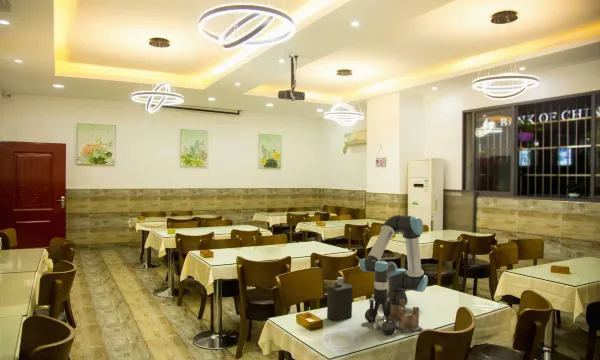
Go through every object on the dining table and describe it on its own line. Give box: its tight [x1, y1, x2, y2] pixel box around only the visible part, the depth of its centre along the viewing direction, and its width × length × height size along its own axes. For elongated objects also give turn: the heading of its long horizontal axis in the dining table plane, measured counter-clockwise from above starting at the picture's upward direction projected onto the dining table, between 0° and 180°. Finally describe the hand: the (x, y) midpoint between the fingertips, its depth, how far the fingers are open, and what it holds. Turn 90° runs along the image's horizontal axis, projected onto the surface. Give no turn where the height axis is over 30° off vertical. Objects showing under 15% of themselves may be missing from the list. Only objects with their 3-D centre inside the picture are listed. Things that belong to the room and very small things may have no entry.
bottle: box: [326, 276, 353, 322], centre depth 262 cm, size 8×16×25 cm, turn 127°
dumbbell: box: [364, 308, 397, 337], centre depth 246 cm, size 8×23×8 cm, turn 18°
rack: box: [381, 299, 424, 334], centre depth 253 cm, size 13×24×12 cm, turn 18°
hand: (379, 327), depth 246 cm, fingers open, 5 cm apart
